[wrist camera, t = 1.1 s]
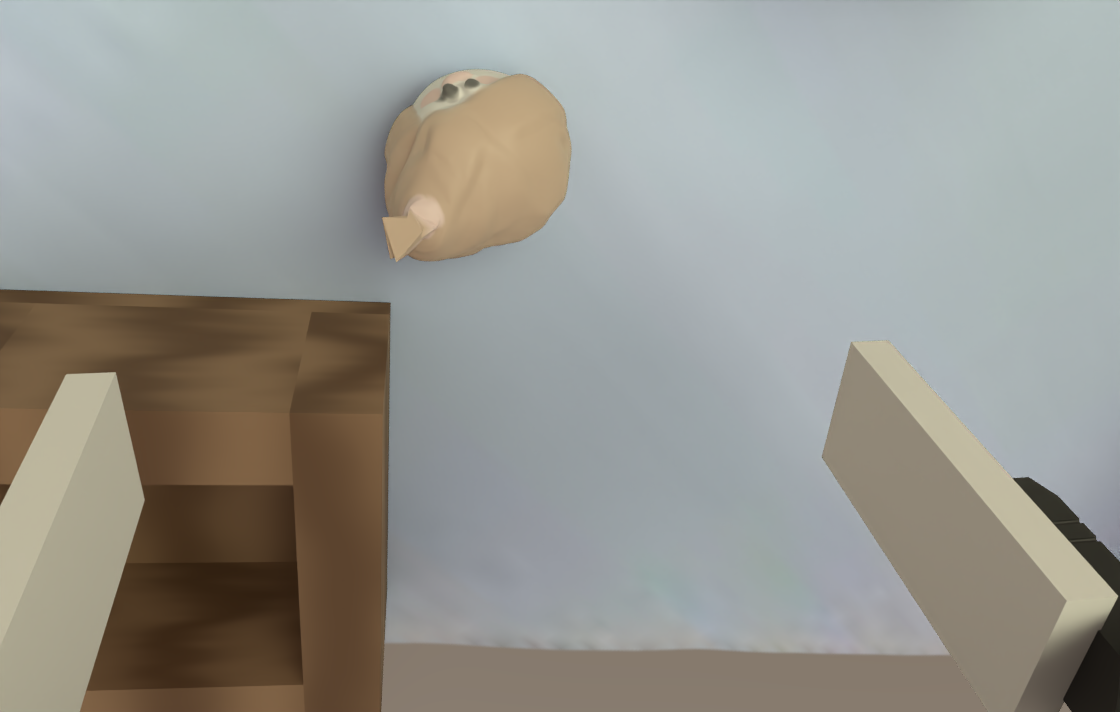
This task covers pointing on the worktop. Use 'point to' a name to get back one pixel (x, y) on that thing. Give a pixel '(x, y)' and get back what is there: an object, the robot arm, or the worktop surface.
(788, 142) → the worktop surface
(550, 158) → the garlic bulb
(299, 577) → the walnut well
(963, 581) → the robot arm
